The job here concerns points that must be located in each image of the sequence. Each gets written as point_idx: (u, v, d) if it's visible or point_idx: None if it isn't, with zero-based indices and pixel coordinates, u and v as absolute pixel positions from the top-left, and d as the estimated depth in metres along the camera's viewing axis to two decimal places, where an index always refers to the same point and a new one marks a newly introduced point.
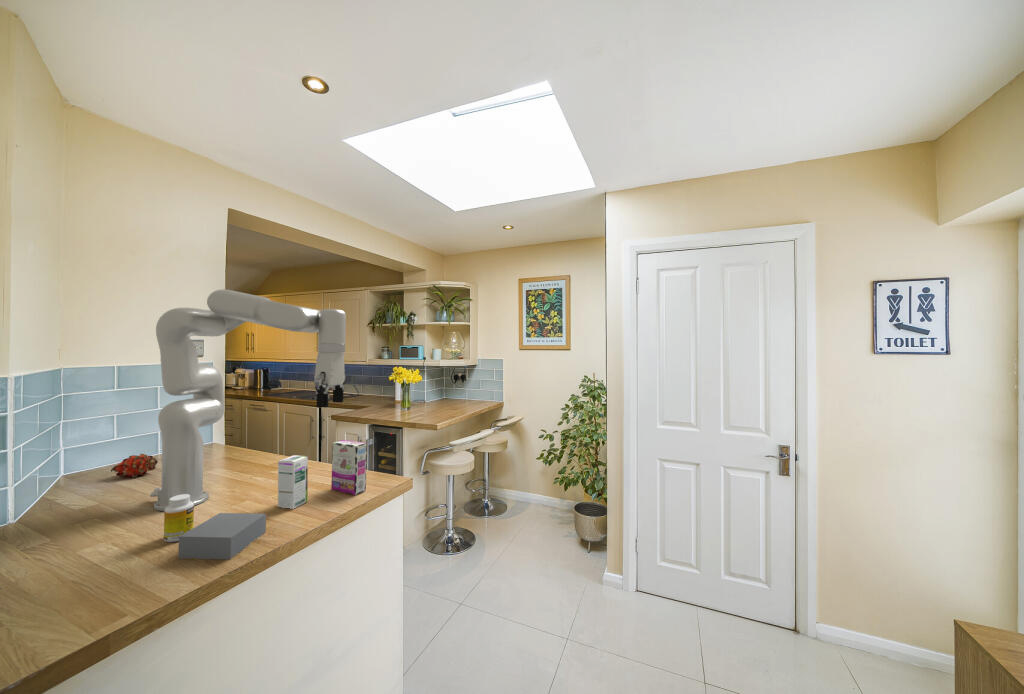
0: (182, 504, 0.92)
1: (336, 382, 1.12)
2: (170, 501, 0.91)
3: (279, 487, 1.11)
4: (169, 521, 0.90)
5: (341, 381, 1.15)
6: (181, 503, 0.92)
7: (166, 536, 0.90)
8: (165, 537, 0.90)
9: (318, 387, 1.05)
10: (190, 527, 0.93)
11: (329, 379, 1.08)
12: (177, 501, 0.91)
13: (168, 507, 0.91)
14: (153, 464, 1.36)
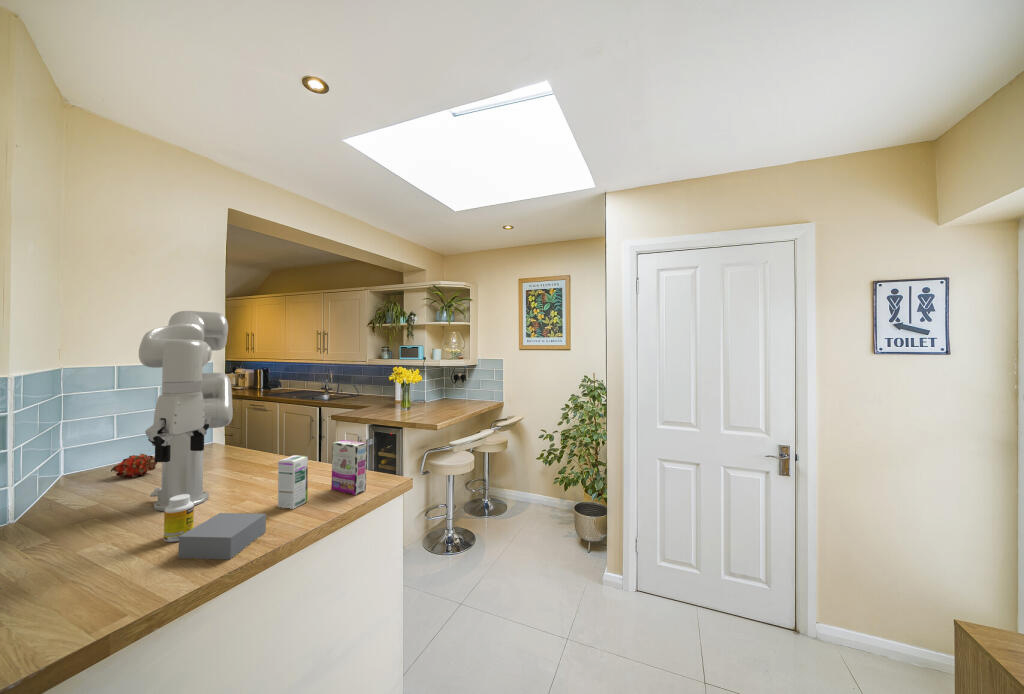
0: (182, 504, 0.92)
1: (186, 429, 0.92)
2: (170, 501, 0.91)
3: (279, 487, 1.11)
4: (169, 521, 0.90)
5: (197, 426, 0.95)
6: (181, 503, 0.92)
7: (166, 536, 0.90)
8: (165, 537, 0.90)
9: (152, 439, 0.85)
10: (190, 527, 0.93)
11: (171, 427, 0.88)
12: (177, 501, 0.91)
13: (168, 507, 0.91)
14: (153, 464, 1.36)
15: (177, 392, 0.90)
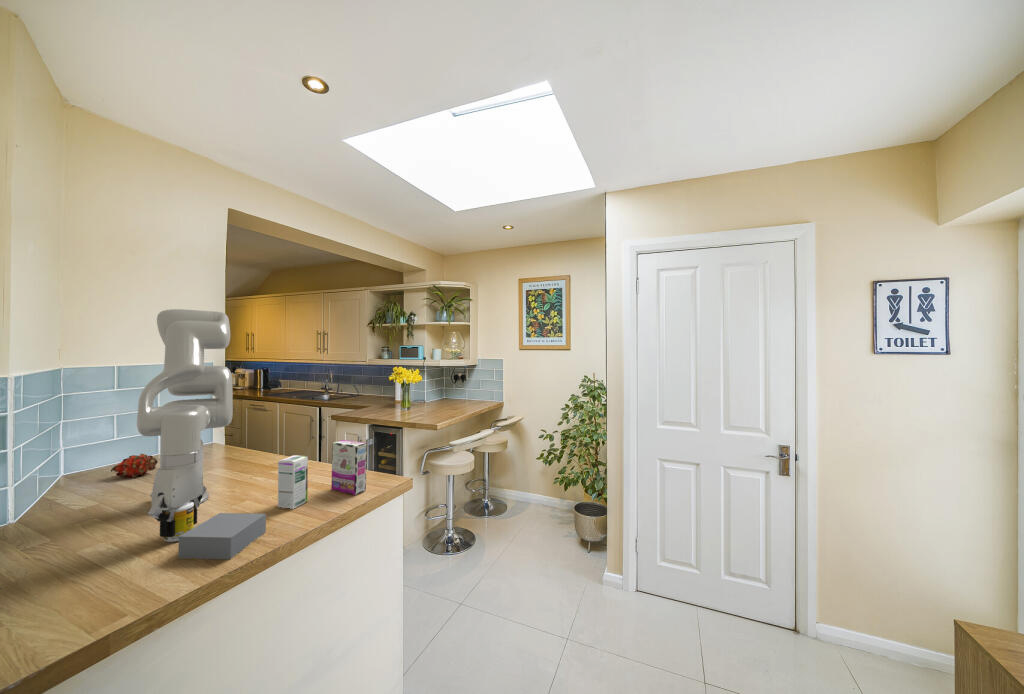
0: None
1: (184, 500, 0.92)
2: None
3: (279, 487, 1.11)
4: None
5: (196, 494, 0.95)
6: None
7: None
8: (165, 537, 0.90)
9: (157, 517, 0.87)
10: (190, 527, 0.93)
11: (169, 501, 0.88)
12: None
13: None
14: (153, 464, 1.36)
15: (175, 465, 0.90)
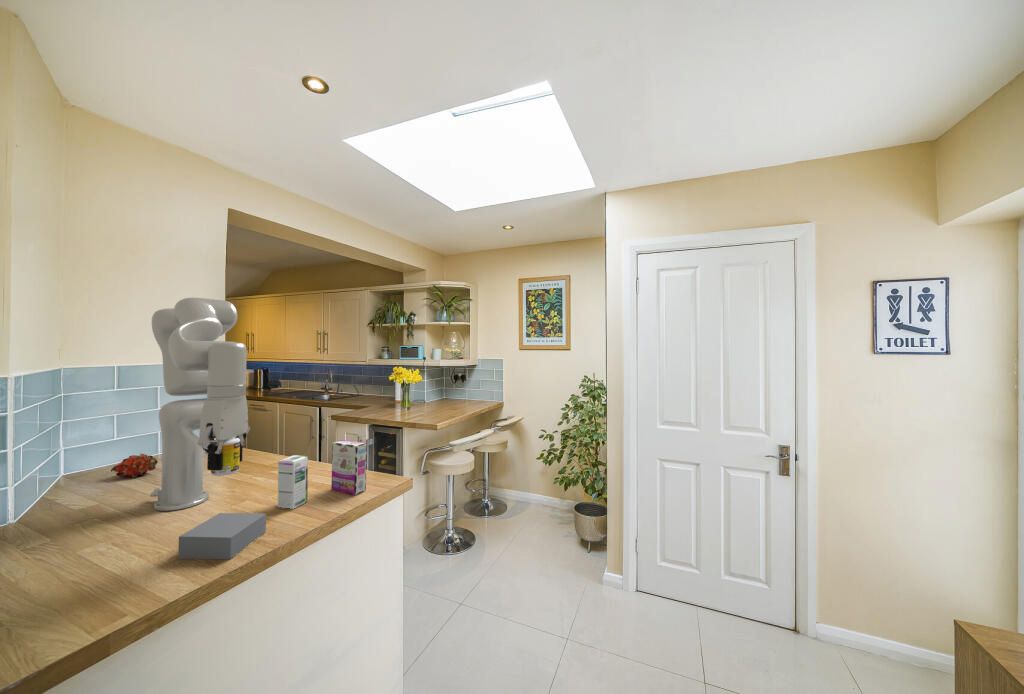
0: (229, 438, 0.89)
1: (231, 434, 0.89)
2: None
3: (279, 487, 1.11)
4: None
5: (241, 430, 0.92)
6: None
7: None
8: (212, 471, 0.87)
9: (206, 448, 0.84)
10: (237, 463, 0.90)
11: (218, 432, 0.85)
12: None
13: None
14: (153, 464, 1.36)
15: (223, 396, 0.87)
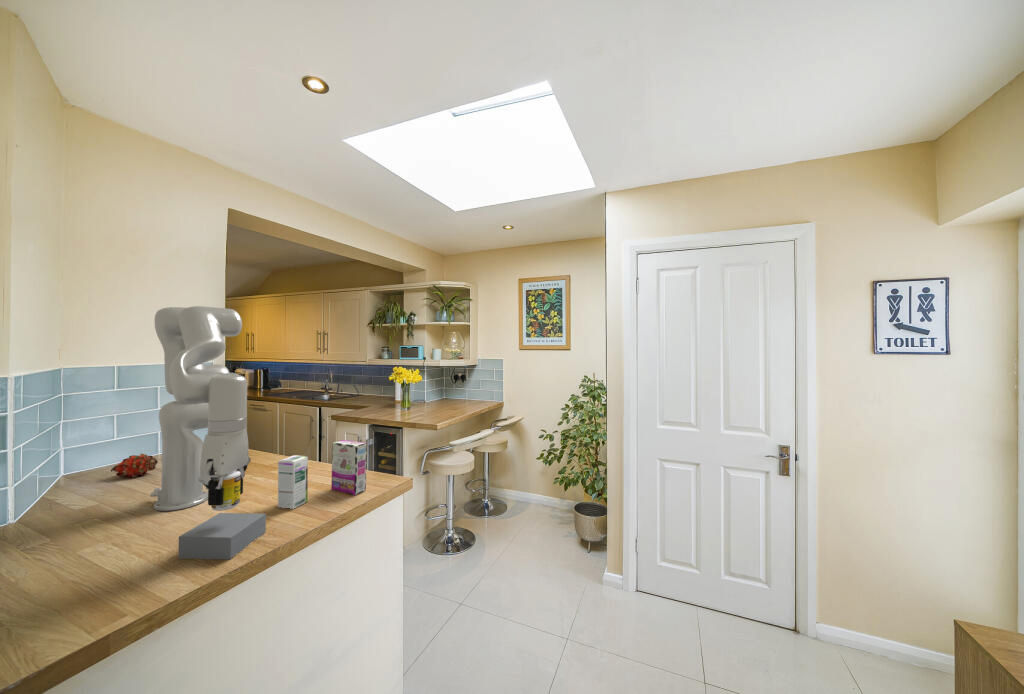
0: (230, 472, 0.89)
1: (232, 468, 0.89)
2: None
3: (279, 487, 1.11)
4: None
5: (242, 463, 0.92)
6: None
7: None
8: (213, 506, 0.87)
9: (207, 484, 0.84)
10: (238, 496, 0.90)
11: (218, 468, 0.85)
12: None
13: None
14: (153, 464, 1.36)
15: (224, 431, 0.87)
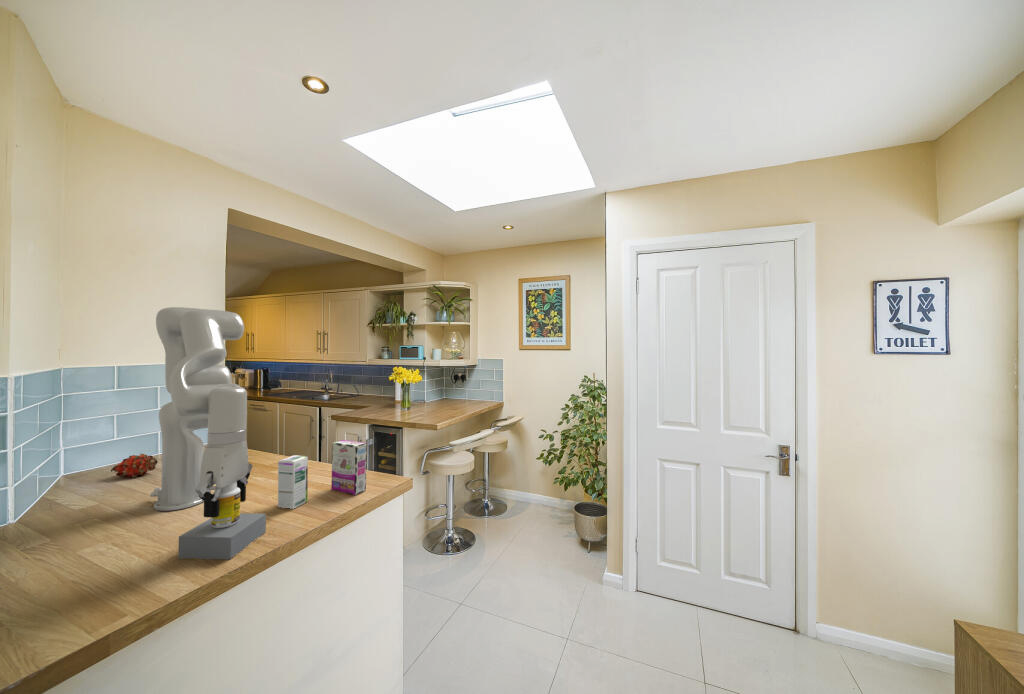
0: (230, 490, 0.89)
1: (232, 480, 0.89)
2: None
3: (279, 487, 1.11)
4: None
5: (242, 475, 0.92)
6: (228, 488, 0.89)
7: (214, 522, 0.88)
8: (213, 523, 0.88)
9: (202, 495, 0.83)
10: (237, 513, 0.91)
11: (218, 480, 0.85)
12: None
13: None
14: (153, 464, 1.36)
15: (224, 443, 0.87)
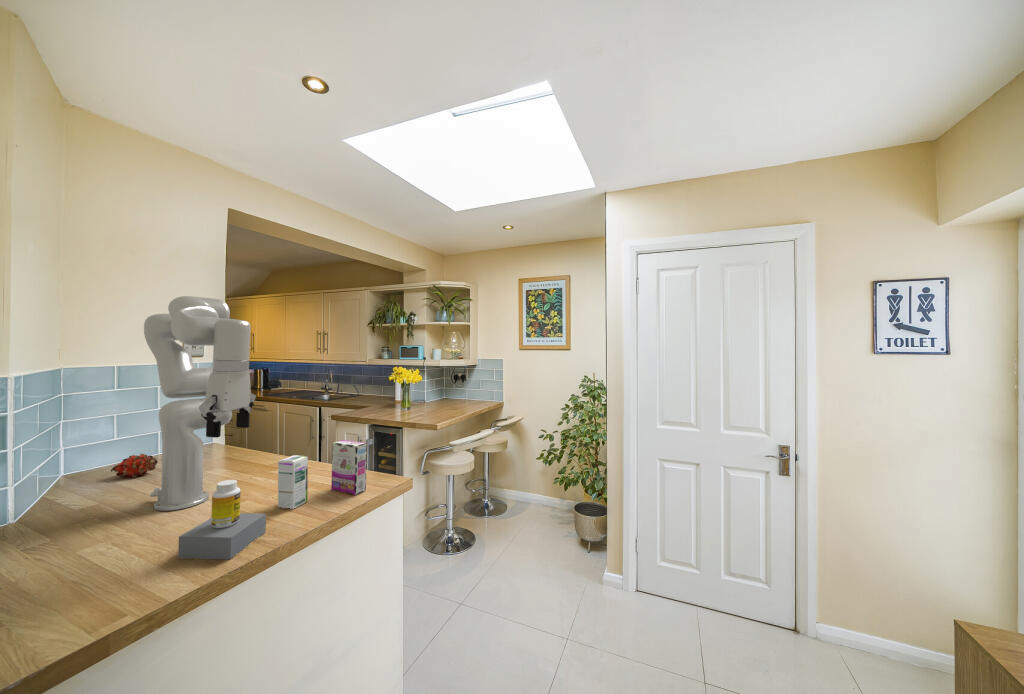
0: (230, 490, 0.89)
1: (235, 406, 0.94)
2: (218, 486, 0.89)
3: (279, 487, 1.11)
4: (217, 507, 0.88)
5: (244, 403, 0.98)
6: (229, 488, 0.89)
7: (214, 522, 0.88)
8: (213, 523, 0.88)
9: (205, 414, 0.88)
10: (237, 513, 0.91)
11: (222, 404, 0.91)
12: (225, 486, 0.89)
13: (216, 492, 0.89)
14: (153, 464, 1.36)
15: (228, 370, 0.92)
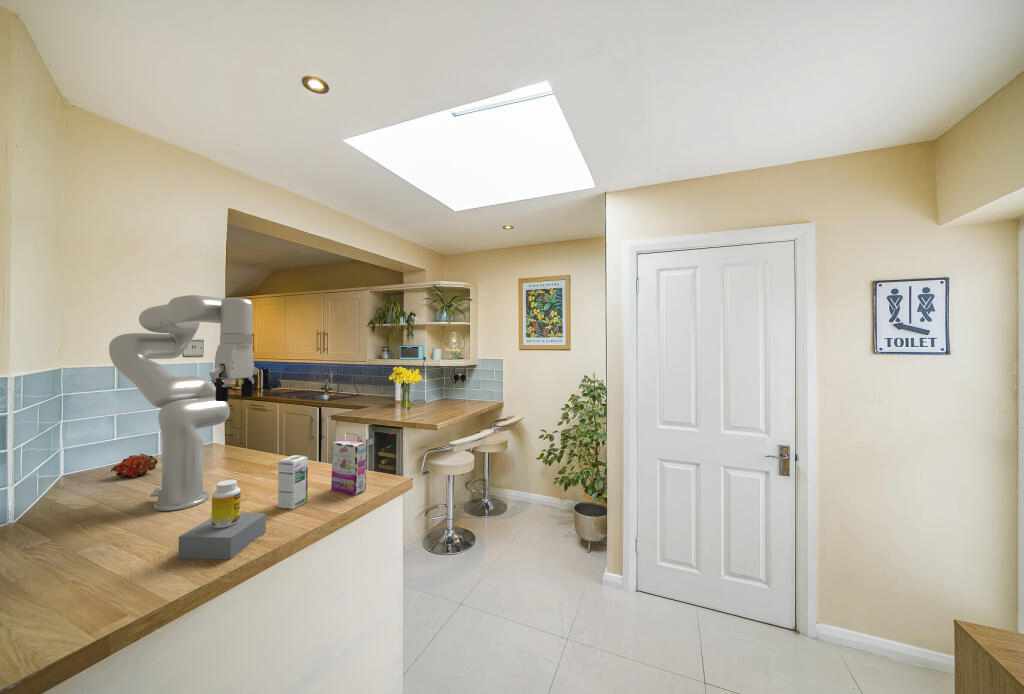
0: (230, 490, 0.89)
1: (240, 375, 1.06)
2: (218, 486, 0.89)
3: (279, 487, 1.11)
4: (217, 507, 0.88)
5: (248, 374, 1.09)
6: (229, 488, 0.89)
7: (214, 522, 0.88)
8: (213, 523, 0.88)
9: (214, 380, 0.99)
10: (237, 513, 0.91)
11: (229, 372, 1.02)
12: (225, 486, 0.89)
13: (216, 492, 0.89)
14: (153, 464, 1.36)
15: (234, 342, 1.04)
